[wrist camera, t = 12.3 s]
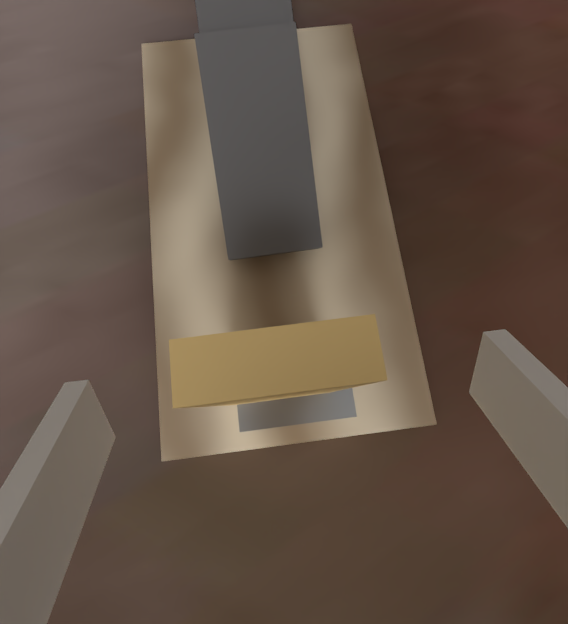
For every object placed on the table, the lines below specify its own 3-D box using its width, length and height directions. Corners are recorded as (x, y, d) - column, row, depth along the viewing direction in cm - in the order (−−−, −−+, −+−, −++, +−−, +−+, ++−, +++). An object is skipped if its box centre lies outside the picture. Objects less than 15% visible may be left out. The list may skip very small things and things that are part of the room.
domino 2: (318, 248, 21) (293, 41, 20) (322, 247, 20) (295, 21, 18) (231, 260, 21) (199, 52, 20) (228, 259, 20) (193, 33, 18)
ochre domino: (324, 361, 20) (374, 314, 9) (329, 392, 19) (387, 380, 9) (230, 373, 20) (168, 339, 9) (233, 405, 19) (172, 408, 9)
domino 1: (306, 178, 22) (284, -23, 21) (309, 172, 21) (286, -47, 20) (222, 188, 22) (195, -15, 21) (219, 182, 21) (189, -38, 19)
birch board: (348, 37, 26) (351, 22, 25) (429, 423, 20) (437, 424, 19) (146, 57, 26) (140, 42, 25) (167, 458, 20) (161, 461, 19)
